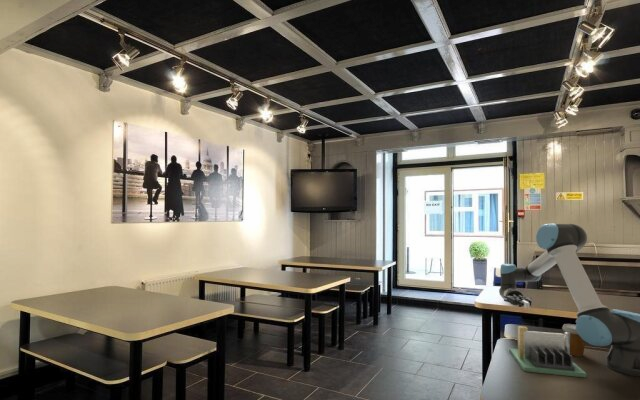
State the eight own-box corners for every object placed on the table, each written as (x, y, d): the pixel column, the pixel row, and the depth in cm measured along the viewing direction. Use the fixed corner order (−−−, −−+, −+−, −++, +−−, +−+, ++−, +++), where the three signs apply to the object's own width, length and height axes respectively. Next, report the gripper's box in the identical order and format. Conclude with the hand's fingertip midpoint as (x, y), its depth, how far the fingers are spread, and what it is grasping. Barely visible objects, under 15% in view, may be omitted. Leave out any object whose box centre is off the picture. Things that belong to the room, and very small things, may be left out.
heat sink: (568, 360, 157) (568, 329, 157) (580, 371, 146) (580, 338, 147) (517, 356, 161) (517, 325, 162) (525, 366, 151) (525, 333, 151)
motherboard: (563, 356, 166) (563, 353, 166) (586, 377, 144) (586, 373, 144) (508, 351, 171) (508, 348, 171) (523, 370, 149) (523, 367, 149)
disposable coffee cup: (591, 358, 164) (591, 330, 165) (567, 356, 166) (567, 329, 167) (581, 350, 174) (581, 324, 174) (558, 349, 176) (558, 323, 176)
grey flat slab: (562, 360, 157) (562, 333, 157) (564, 361, 155) (564, 334, 156) (523, 356, 160) (523, 330, 160) (524, 358, 158) (524, 331, 159)
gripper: (527, 304, 193) (543, 315, 170) (499, 303, 195) (512, 313, 173) (527, 289, 193) (543, 298, 170) (499, 288, 196) (512, 296, 173)
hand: (527, 305), depth 171 cm, fingers closed
